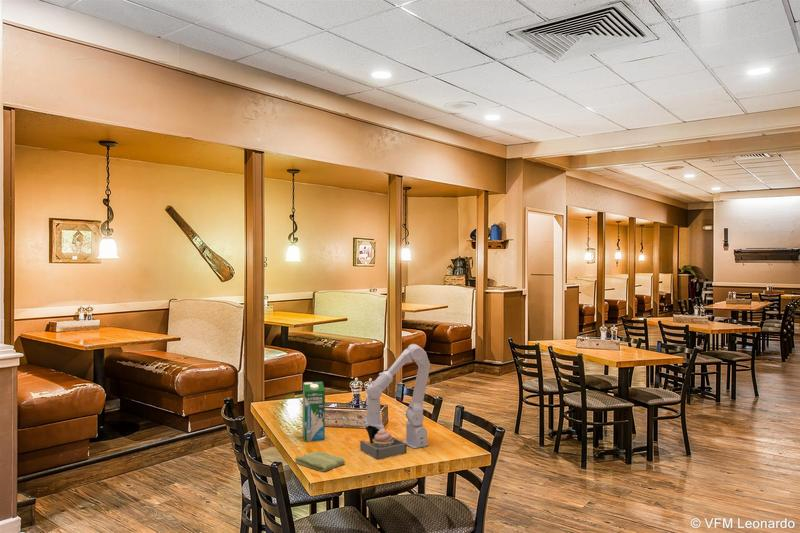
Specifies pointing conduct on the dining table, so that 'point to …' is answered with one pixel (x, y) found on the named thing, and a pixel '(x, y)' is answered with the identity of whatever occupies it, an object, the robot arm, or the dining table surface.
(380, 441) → the cupcake
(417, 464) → the dining table surface
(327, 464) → the washcloth
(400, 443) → the box
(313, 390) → the milk carton
